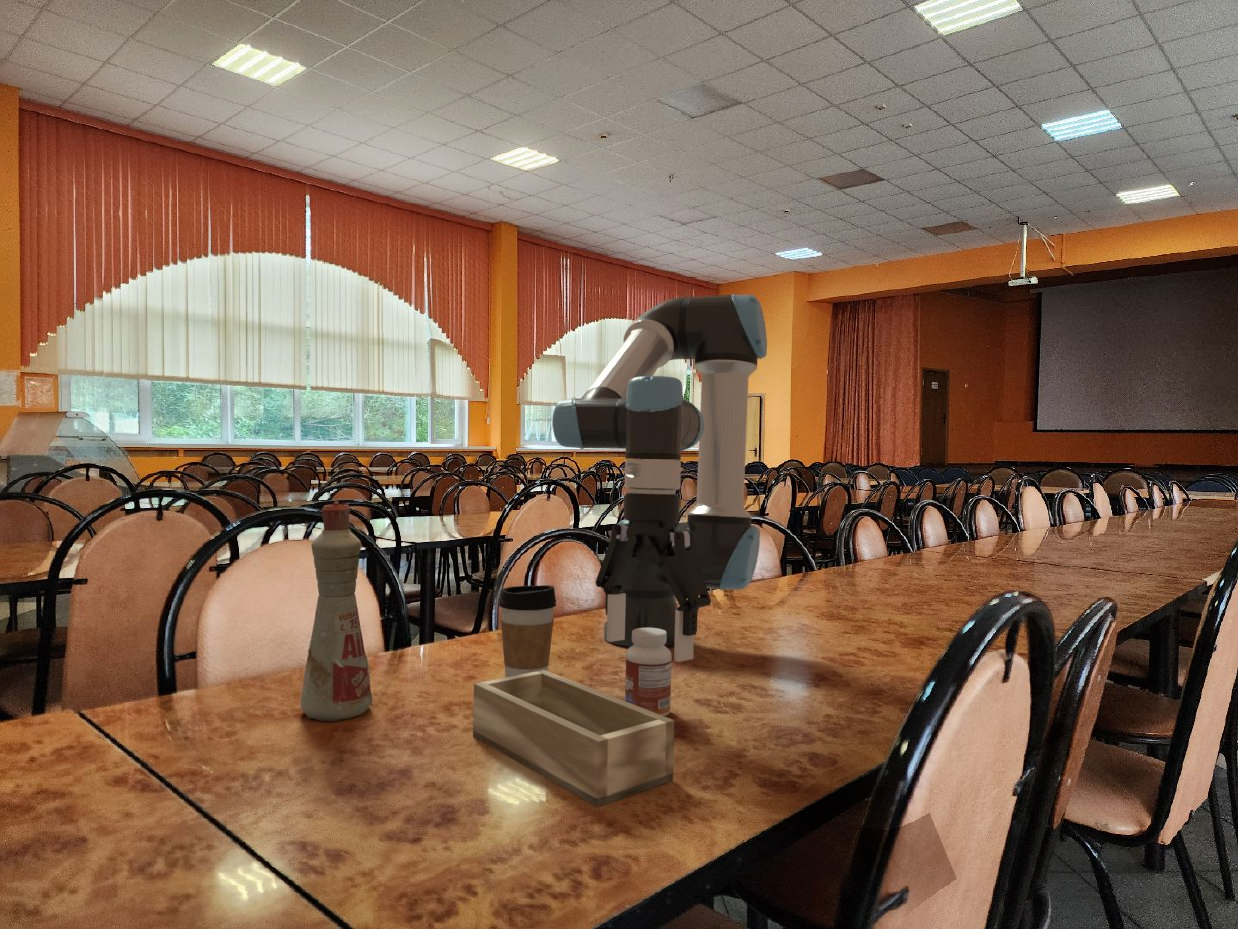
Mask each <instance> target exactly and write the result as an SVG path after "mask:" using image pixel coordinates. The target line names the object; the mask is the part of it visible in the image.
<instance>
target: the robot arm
mask: <svg viewBox="0 0 1238 929" xmlns="http://www.w3.org/2000/svg"><path fill="white" fill-rule="evenodd" d="M763 312H764V311H763V308H762V305H761V302H760V300H759V299H758V298H757V297H756V296H754V295H751V294H735V293H732V294H722V295H708V296H707V295H706V296H704V295H703V296H681V297H676V298H675V297H674V298H671V299H668V300H665V301H663V302H661V303H657V305H655V306H653V307H651V308H649V309H648V310H647V311H645V312H643V313H642V314H640V315H639V316H638V317H637V318H636V319H635V320H634V321H632V323H631V324H630V325H629V326H628V328H627V329H626V331H625V333H624V336H623V341H622V342H623V344H621V346H620V347H619V348H618V350H616V353H615V354H613V356H612V357H611V359H610V360H609V362H608V363H606V366H605V367H604V368H603V369H602V371H601V372H600V373H599V375H598V376H597V377H596V378H595V380H594V381H593V382H592V384H591V385H590V386H589V388H588V389H587V390H586V392H584V394H583V395H582V396H581V398H577V397H571V398H565V399H564V398H563V399H560V400H559V401H558V402H557V403H556V405H555V406H554V408H553V412H552V422H551V424H552V430H553V432H552V433H553V436H554V438H555V440H556V442H557V443H558V444H559V445H560V446H561V447H565V448H577V449H580V450H584V449H619V450H620V449H622V450H623V449H624V450H625V453H624V454H625V456H624V459H625V461H624V462H625V463H624V465H625V466H624V487H625V489H628V492H625V495H624V494H623V520H621V521H619V522H618V523H616V524H615V523H614V524H612V526H611V533H610V541H609V543H608V547H607V549H606V551H605V554H604V558H603V560H602V563H601V566H600V567H599V571H598V575H597V577H596V580H595V585H596V587H597V588H601V589H603V593H604V594H605V616H606V622H605V623H604V626H603V639H604V640H605V641H606V642H608V643H611V644H613V645H617V646H621V647H622V646H623V647H628V648H630V647H631V646H633V645H634V643H633V642H632V631H633V630H634V629H638V628H658V629H662V630H665V631H666V633H667V641H666V643H665V644H664V646H665V647H667V648H668V647H673V646H674V650H673V651H674V653H673V660H674V662H676V663H680V662H685V661H690V660H694V651H695V650H694V647H695V646H694V643H695V642H694V641H695V635H696V634H697V632H698V611H699V609H700V608H704V607H709V606H710V605H711V603H712V601H711V600H712V599H711V597H710V596H711V595H710V593H709V591H708V590H709V589H712V590H713V589H714V590H720V591H725V590H728V591H729V590H734V591H735V590H737V591H739V590H744V589H746V588H747V587H748V586H749V585H750V583H751V581H752V579H753V577H754V575H755V571H756V566H757V562H758V558H759V552H760V544H761V540H760V538H761V533H760V532H761V531H760V528H759V527H758V526H756V525H752V515H751V514H750V513H749V511H747V509H745V504H744V499H745V498H744V497H745V473H746V471H745V470H746V445H747V424H748V423H747V420H748V419H747V417H748V402H749V400H748V396H749V395H748V394H749V378H750V377H751V375H752V374H753V373H754V372H755V371H757V369H758V360H762V359H763V358H765V357H766V356H767V351H768V350H767V349H768V340H767V337H768V336H767V328H766V323H765V317H764V313H763ZM675 360H693V362H694V363H693V367H694V369H695V370H696V371H697V372H698V373H699V374H700V376H701V385H700V386H701V388H700V408H698V407H697V406H695V404H693V403H692V402H690V401H689V400H686V399H685V397H684V394H683V383H682V381H681V379H679V378H677V377H675V376H674V377H672V376H665V375H655V373H656V371H657V370H658V369H659V368H661V367H662V368H663V366H665V365H666V364H668V362H670V361H675ZM699 409H700V410H699ZM697 444H698V460H697V482H696V486H697V487H696V504H695V506H694V507H693V508H691V510H689V511H688V512H687V521H686V522H679V520H680V508H681V506H680V503H681V502H680V501H681V497H680V496H679V494H676V491H679V490H680V489H681V471H682V470H681V469H682V468H681V464H682V463H681V462H682V461H681V460H682V456H681V453H682V451H685V450H688V449H690V448H691V449H692V448H693V447H694V446H696V445H697ZM678 605H679V606H678Z"/></svg>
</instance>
